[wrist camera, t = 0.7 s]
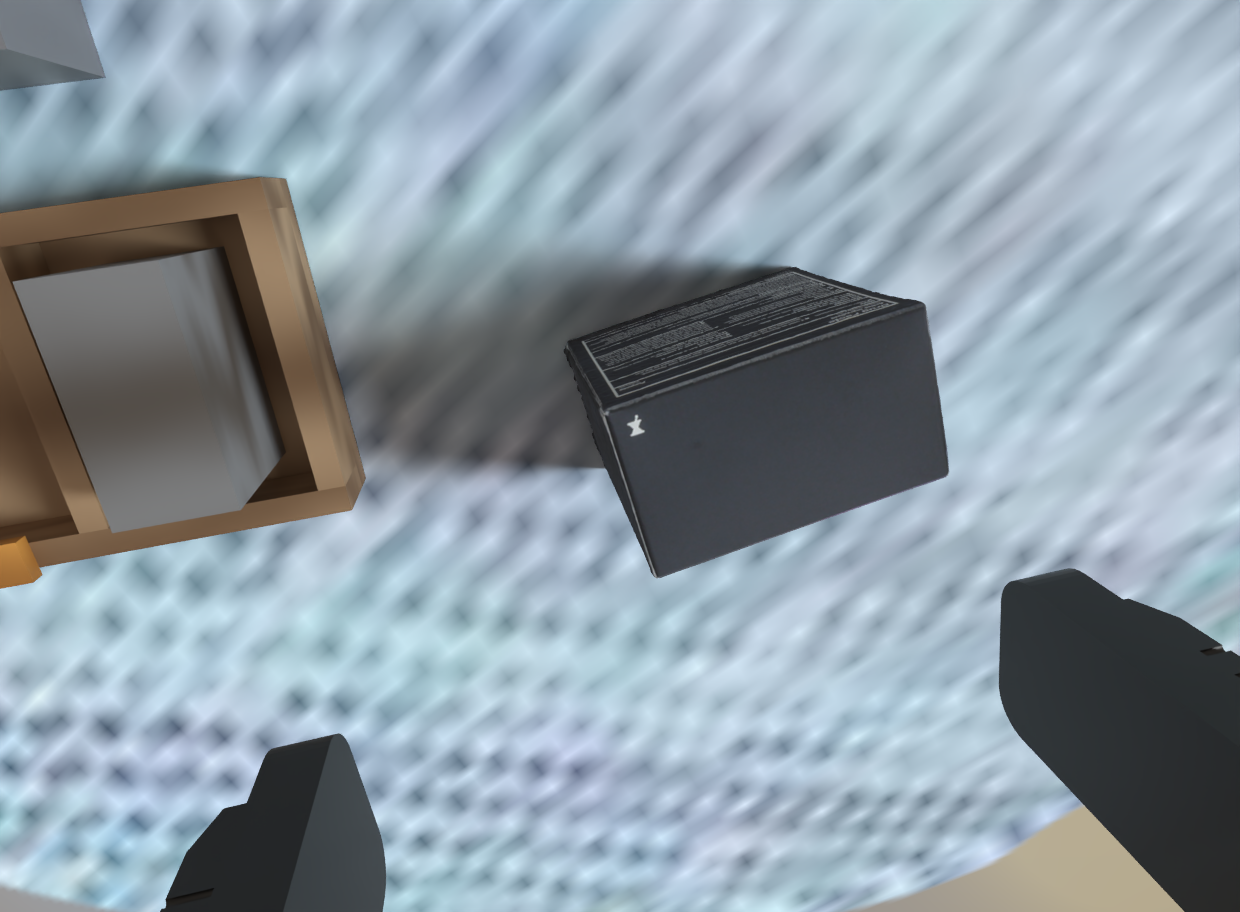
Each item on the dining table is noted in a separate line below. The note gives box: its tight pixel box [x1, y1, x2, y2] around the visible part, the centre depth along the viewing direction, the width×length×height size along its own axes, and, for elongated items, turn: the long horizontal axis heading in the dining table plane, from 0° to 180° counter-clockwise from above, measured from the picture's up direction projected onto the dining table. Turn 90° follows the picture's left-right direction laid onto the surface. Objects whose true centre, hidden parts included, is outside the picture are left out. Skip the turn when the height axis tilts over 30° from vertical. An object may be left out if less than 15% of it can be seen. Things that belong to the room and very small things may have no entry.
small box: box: [564, 267, 949, 578], centre depth 29 cm, size 11×6×10 cm, turn 107°
